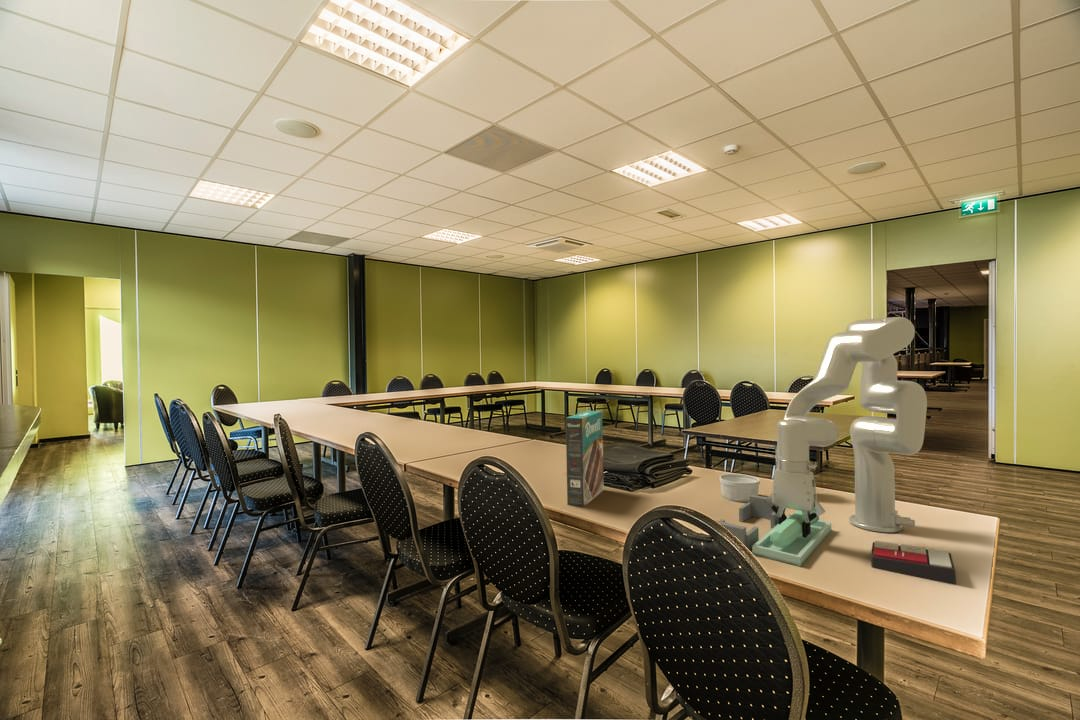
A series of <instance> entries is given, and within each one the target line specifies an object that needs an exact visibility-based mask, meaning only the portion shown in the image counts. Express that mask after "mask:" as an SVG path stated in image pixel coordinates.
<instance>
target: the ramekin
mask: <svg viewBox="0 0 1080 720" xmlns="http://www.w3.org/2000/svg"><path fill="white" fill-rule="evenodd" d="M719 482H720V492H721V495H722V496H723V498H725V499H726V500H729V501H732V502H743V503H748V502H749V503H750V496H751V495H756V496H759V488H760V485H761V480H760V478H759V477H755V476H753V475H748V474H744V473H743V474H742V473H724V474H721V475H720V476H719Z"/></svg>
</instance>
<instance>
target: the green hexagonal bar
mask: <svg viewBox="0 0 1080 720" xmlns="http://www.w3.org/2000/svg"><path fill="white" fill-rule="evenodd" d="M815 511H817V510H816V508H813V510H812V511H810V513H811V514H812V513H813V512H815ZM790 515H791V516H790V517H788V518H787V519H786V520H785V521H784V522H782V523H781V524H780V525H779V526H777V527H776V528H775V529H774V530H772V531H771V532H770V541H771V542H772V543H773V544H774V546H776V547H780V548H785V547H787V546H788V545H790V544H791V543H792V542H793V541H794V540H795V539H796V538H797V537H798V536H799V535H800V534H802V522H803V521H804V518H803V514H802V511H800V510H796V511H795V512H793V513H792V514H790ZM818 520H820V516H818V517H816V518H814V519H813V520H812V521H810V525H812V524H814V523H815V522H817V521H818Z"/></svg>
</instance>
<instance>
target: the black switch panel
mask: <svg viewBox="0 0 1080 720" xmlns="http://www.w3.org/2000/svg"><path fill="white" fill-rule="evenodd" d="M870 561H871V568H873V569H877V570H880V571H886V572H891V573H897V574H902V575H907V576H911V577H918V578H924V579H929V580H930V581H934V582H935V581H936V582H939V583H945V584H949V585H954V586H955V585H957V580H956V577H957V576H956V569H955V565H954V562H953V556H952V554H951V552H949V551H947V550H941V549H933V548H926V547H924V546H917V545H911V544H903V543H901V544H900V545H899V544H898V543H894V542H888V541H880V540H875V541H873V542H872V546H871V551H870Z"/></svg>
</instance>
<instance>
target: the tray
mask: <svg viewBox="0 0 1080 720" xmlns="http://www.w3.org/2000/svg"><path fill="white" fill-rule="evenodd" d="M791 515H792V514H788V515H786V516H787V518H788V517H790V516H791ZM777 526H779V524H777V525H776V526H775V527H774V528H773V529H772V528H770V530H769V531H768V532H767V533H766V534H764V535H763V536H762V537H761V538H759V540H758V541H757V542H756V543H755V544H754V545H753V546H752V548H751V549H752V552H751V553H752V555H754V556H756V557H757V556H758V557H760V558H761V557H762V558H765V559H770V560H772V561H776V562H781V563H785V564H787V565H792V566H796V567H800V568H801V567H802V566H803V565H804V563H806V561H808V559H809V557H810V556H811V555H812V554H813V553H814V552H815V551H816V550H817V548H819V546H820V545H821V544H822V542H823V541H824V540H825V539H826V538H827V537H828V535H829V534H830V533H831V531H832V522H830V521H824V520H820V519H819V520H818V521H817V522H815V523H814V524H812V525H811V532H810V534H808V536H807V537H806V538H804V537H803V536H802V534H800V535H799V536H798V537H797V538H796V539H795V540H794V541H793V542H792V543H791V544H790V545H788V546H787V547H785V548H780V547H776V546H774V544H773V543H772V542H771V541H770V532H771V531H772V530H774V529H775V528H776V527H777Z"/></svg>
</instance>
